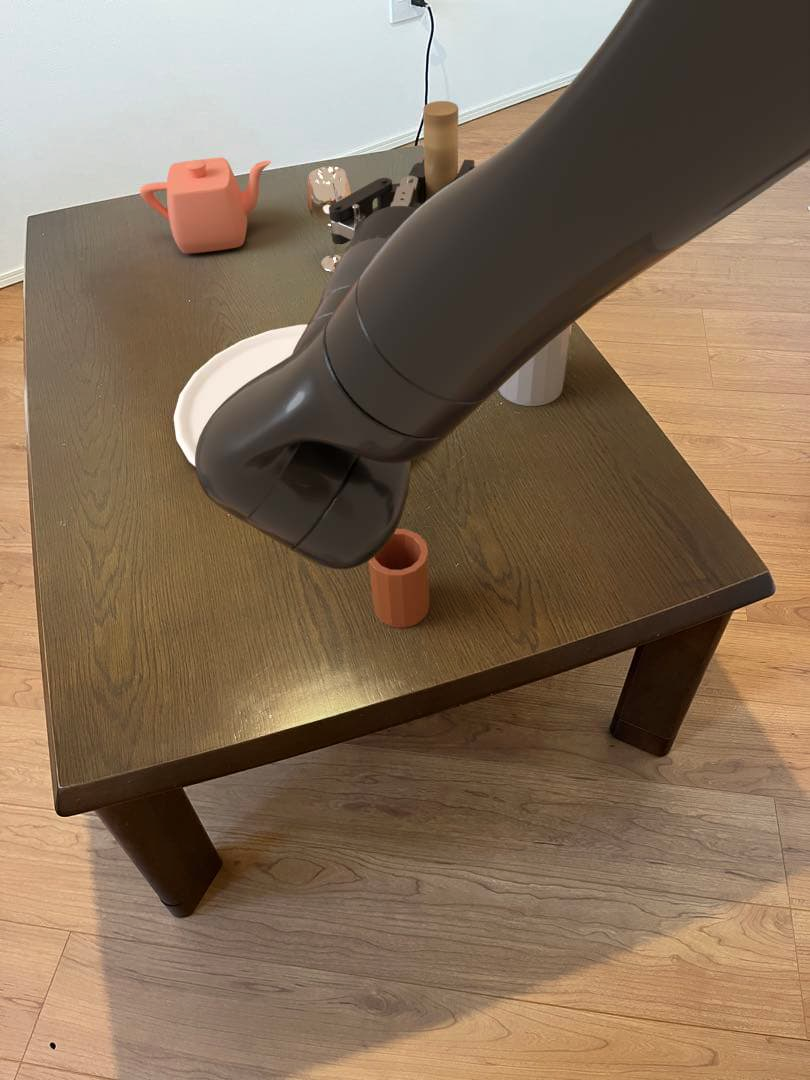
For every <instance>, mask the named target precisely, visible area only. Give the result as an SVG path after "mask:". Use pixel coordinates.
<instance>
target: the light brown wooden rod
mask: <svg viewBox="0 0 810 1080" xmlns="http://www.w3.org/2000/svg"><path fill="white" fill-rule="evenodd" d="M422 112H423V114H422V115H423V118H422V119H423V152H424V153H423V157H424V158H423V159H424V166H425V202H426V201H427V200H428V199H430V198H431V197H432V196H434V195H435V194H436V193H438V192H439V191H440V190H442V189H443V188H445V187H446V186H448V185H449V184H451V183H452V182H454V181H455V179H456V177H457V176H458V173H459V106H458V104H456V103H454V102H453V101H447V100H438V101H437V100H436V101H432V102H429V103H427V104H425V105H424V106H423V108H422Z"/></svg>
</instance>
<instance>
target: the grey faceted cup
mask: <svg viewBox="0 0 810 1080" xmlns="http://www.w3.org/2000/svg"><path fill="white" fill-rule="evenodd" d="M572 326H573V323H572V324H571V325H570V326H569V327H567V328H566V329H565V330H564V331H562V332H561V333H560V334H559V335H558V336H556V337H555V338H554V339H553V340H552V341H550V342H549V343H548V344H547V345H546V346H545V347H543V348H542V349H541V350H540V351H539V352H538V353H537V354H536V355H534V356H533V357H532V358H531V359H530V360H529V361H528V362H527V363H525V364H524V365H523V366H522V367H521V368H520V369H519V370H518V371H517V372H516V373H515V374H514V375H513V376H512V377H510V378H509V379H508V380H507V381H506V382H505V383H504V384H503V385H502V386H501V387H500V388H499V389H498V390H497V391H498V393H499V394H500V395H501V396H502V397H503V398H504V399H505V400H507V401H509V402H510V403H512V404H515V405H519V406H524V407H539V406H543V405H544V406H545V405H548V404H550V403H552V402H555V400H557V399H558V398H559V397H560V396H561V394H562V393H563V390H564V385H565V379H566V373H567V364H568V357H569V348H570V341H571V334H572Z"/></svg>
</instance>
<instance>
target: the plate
mask: <svg viewBox="0 0 810 1080" xmlns="http://www.w3.org/2000/svg"><path fill="white" fill-rule="evenodd" d="M308 324H309V323H308ZM308 324H296V325H292V326H285V327H281V328H275V329H269V330H267V331H264V332H261V333H259V334H255V335H253V336H250V337H247V338H245V339H241V340H240V341H238V342H236V343H234V344H232V345H231V346H229V347H227V348H226V349H224V350H222V351H220V352H218V353H216V354H215V355H213V357H211V358H210V359H209V360H207V361H206V363H204V364H203V365H202V366H201V367H200V368H199V369H197V370H196V371H195V372H194V373H193V374H192V376H191V378H190V379H189V380H188V382H187V383H186V384H185V386H184V388H183V389H182V391H181V392H180V393H179V396H178V399H177V402H176V406H175V411H174V413H173V422H174V423H173V425H174V431H175V432H174V433H175V439H176V443H178V446H179V447H180V449H181V451H182V452H183V454H184V456H185V457H186V459H187V461H188V462H189V463H190V464H191V465H192V466H194V467H195V468H196V466H195V453H196V447H197V443H198V440H199V437H200V435H201V432H202V430H203V428H204V427H205V425H206V424H207V422H208V420H209V419H210V417H211V416H212V415H213V413H214V412H215V411H216V410H217V409H218V407H219V406H220V405H221V404H222V403H223V402H224V401H225V400H226V399H227V398H228V397H230V396H231V395H232V394H233V393H234V392H236V391H237V390H238V389H240V388H241V387H242V386H244V385H245V384H246V383H248V382H249V381H251V380H252V379H254V378H255V377H257V376H259V375H260V374H262V373H263V372H265V371H267V370H268V369H270V368H272V367H273V366H275V365H277V364H279V363H280V362H282V361H283V360H285V359H286V358H288V357H289V356H291V355H292V353H293V351H294V349H295V347H296V345H297V343H298V341H299V339H300V338H301V336H302V334H303V332H304V331H305V329H306V327H307V325H308Z"/></svg>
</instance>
